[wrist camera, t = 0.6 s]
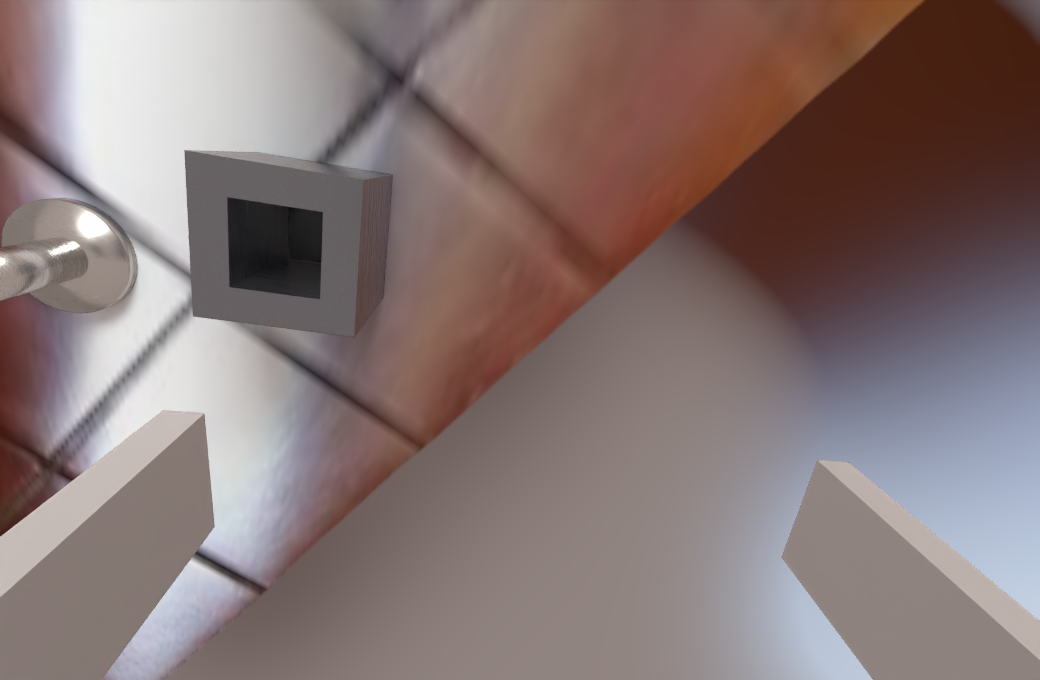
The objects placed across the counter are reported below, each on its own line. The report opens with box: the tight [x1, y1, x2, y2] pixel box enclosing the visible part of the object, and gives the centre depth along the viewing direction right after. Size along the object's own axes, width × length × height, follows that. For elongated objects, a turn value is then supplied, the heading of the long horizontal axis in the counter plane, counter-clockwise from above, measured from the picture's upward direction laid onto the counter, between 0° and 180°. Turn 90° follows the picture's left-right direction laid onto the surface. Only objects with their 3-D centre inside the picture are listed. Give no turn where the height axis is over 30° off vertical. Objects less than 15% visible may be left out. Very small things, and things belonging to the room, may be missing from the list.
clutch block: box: [185, 150, 393, 337], centre depth 28 cm, size 8×8×8 cm
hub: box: [0, 198, 137, 313], centre depth 28 cm, size 7×7×8 cm
